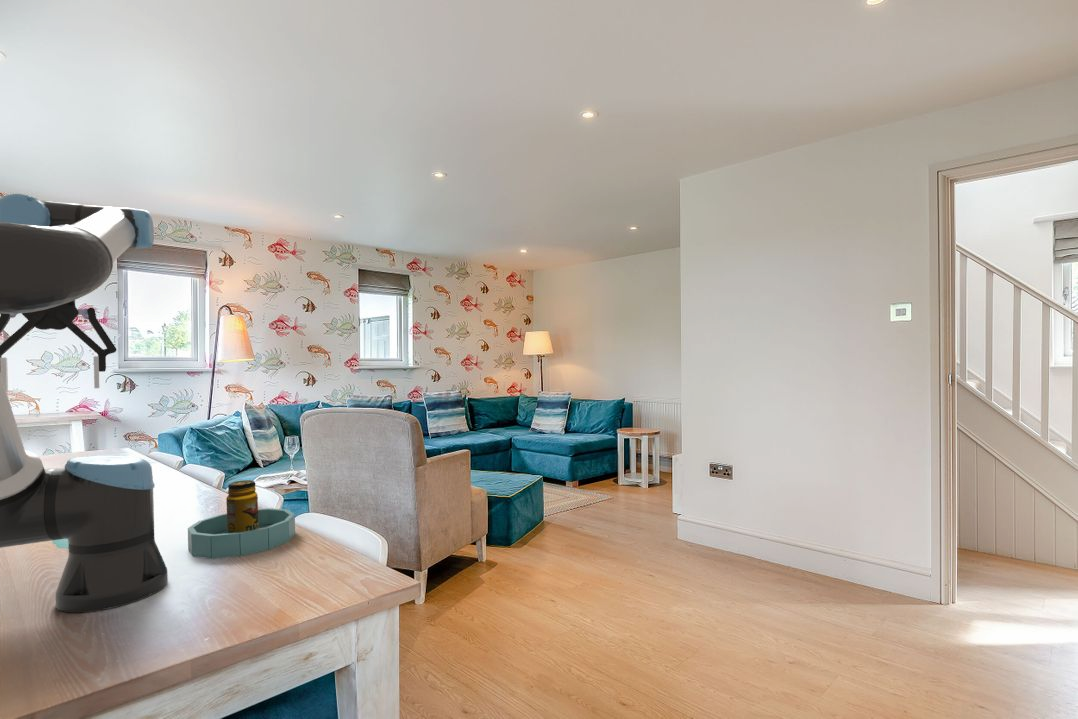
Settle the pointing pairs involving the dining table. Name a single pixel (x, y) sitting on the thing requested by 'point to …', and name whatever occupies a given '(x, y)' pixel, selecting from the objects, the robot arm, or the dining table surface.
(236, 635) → the dining table surface
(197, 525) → the bowl
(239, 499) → the yellow cylindrical bottle
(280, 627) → the dining table surface
